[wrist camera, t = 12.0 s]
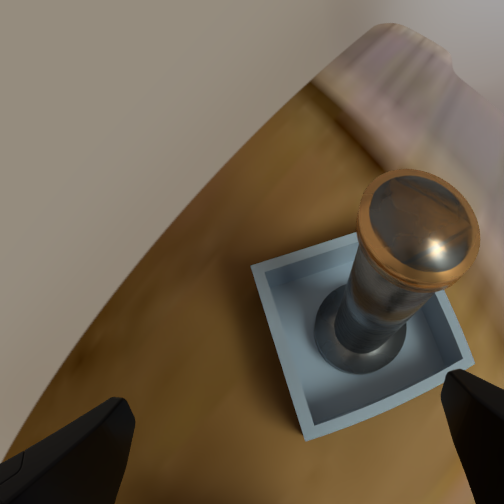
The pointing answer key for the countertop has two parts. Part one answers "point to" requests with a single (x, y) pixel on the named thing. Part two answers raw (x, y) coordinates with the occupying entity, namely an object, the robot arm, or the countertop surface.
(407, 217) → the pin
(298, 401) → the pin tray
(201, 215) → the countertop surface
